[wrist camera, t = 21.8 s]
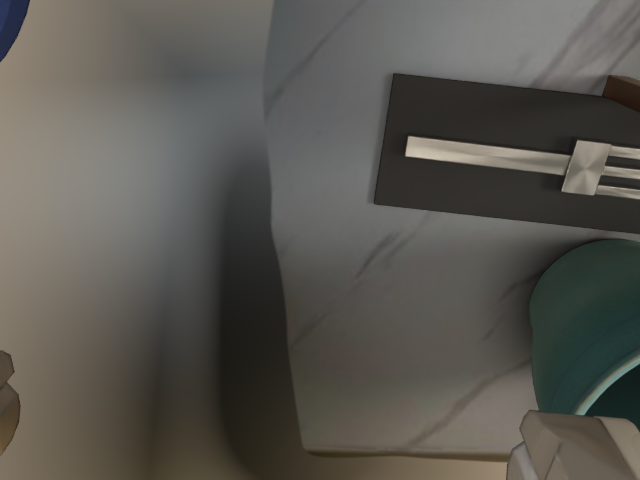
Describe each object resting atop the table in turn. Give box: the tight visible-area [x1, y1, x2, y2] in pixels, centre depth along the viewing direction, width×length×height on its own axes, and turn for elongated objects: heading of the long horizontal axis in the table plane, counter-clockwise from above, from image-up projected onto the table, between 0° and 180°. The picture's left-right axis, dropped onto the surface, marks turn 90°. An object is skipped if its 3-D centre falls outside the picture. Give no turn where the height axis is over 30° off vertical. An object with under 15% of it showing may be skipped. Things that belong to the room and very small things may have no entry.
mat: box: [374, 73, 640, 234], centre depth 41 cm, size 22×10×1 cm, turn 84°
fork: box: [404, 133, 640, 200], centre depth 40 cm, size 18×4×1 cm, turn 84°
